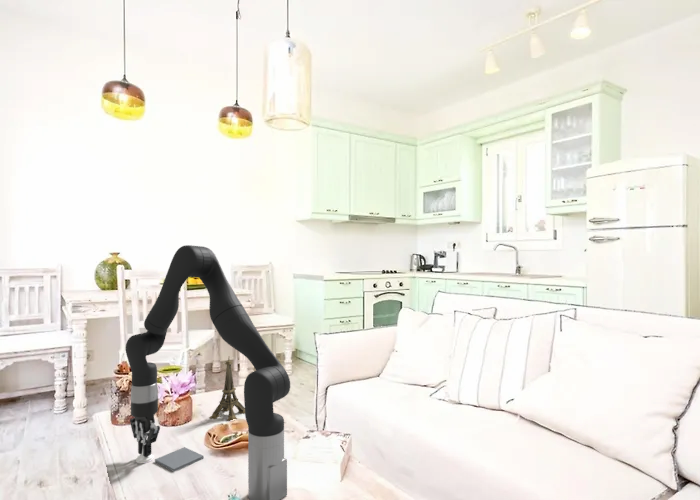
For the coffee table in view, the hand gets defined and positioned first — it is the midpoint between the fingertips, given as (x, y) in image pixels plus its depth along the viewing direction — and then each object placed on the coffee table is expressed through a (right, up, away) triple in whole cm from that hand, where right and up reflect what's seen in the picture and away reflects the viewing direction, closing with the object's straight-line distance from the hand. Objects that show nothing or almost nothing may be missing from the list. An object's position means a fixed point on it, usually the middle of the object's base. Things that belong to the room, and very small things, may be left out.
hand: (144, 454), depth 134 cm
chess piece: (0, -2, 0) cm, 2 cm away
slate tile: (+11, -2, 0) cm, 11 cm away
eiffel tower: (+16, -2, +36) cm, 39 cm away
